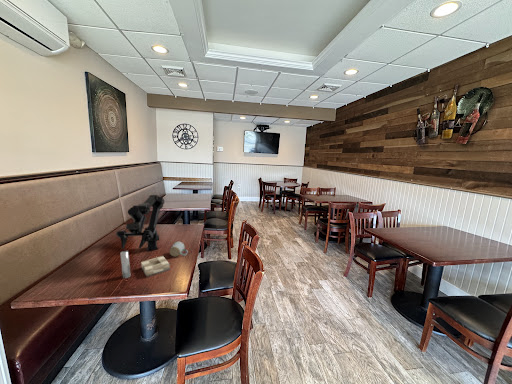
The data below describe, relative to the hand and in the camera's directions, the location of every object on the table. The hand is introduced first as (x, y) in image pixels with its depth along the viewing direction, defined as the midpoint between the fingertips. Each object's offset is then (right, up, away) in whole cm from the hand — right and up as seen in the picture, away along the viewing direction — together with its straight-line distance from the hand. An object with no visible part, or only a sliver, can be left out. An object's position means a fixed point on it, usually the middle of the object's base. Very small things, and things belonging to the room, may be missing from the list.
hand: (131, 248), depth 117 cm
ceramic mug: (+19, -10, +21) cm, 31 cm away
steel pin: (0, -14, -5) cm, 15 cm away
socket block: (+12, -13, +3) cm, 18 cm away
